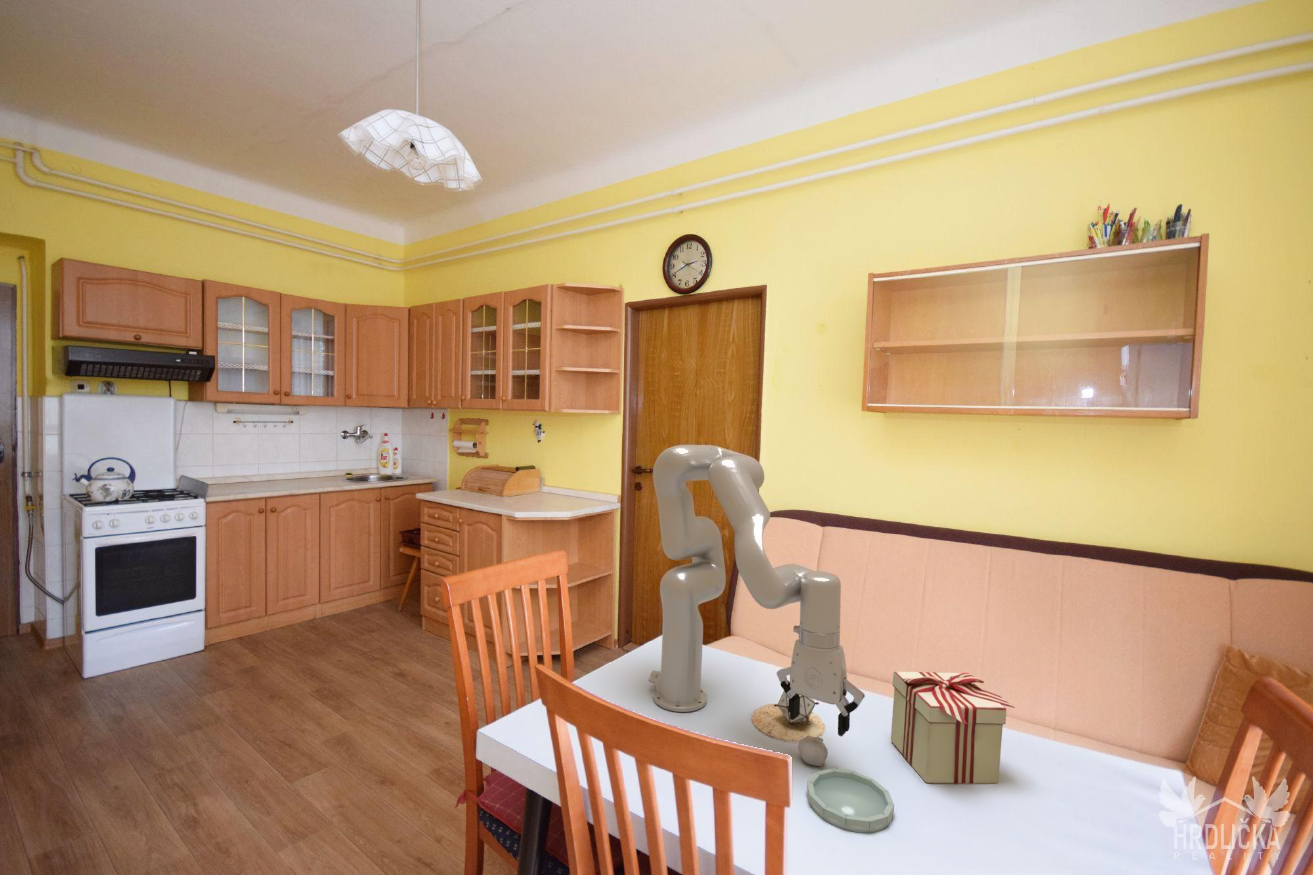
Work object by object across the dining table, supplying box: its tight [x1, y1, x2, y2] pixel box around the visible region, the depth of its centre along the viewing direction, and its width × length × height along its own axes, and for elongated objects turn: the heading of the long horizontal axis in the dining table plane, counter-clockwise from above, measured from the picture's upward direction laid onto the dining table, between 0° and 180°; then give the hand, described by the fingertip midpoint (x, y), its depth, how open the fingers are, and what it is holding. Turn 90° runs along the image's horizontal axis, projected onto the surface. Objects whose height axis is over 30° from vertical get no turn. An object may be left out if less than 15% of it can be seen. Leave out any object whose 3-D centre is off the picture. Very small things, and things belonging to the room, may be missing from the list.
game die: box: [773, 690, 820, 726], centre depth 128 cm, size 9×8×10 cm
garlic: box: [797, 736, 829, 767], centre depth 113 cm, size 6×5×5 cm
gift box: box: [890, 671, 1016, 785], centre depth 113 cm, size 17×18×17 cm
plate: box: [806, 767, 895, 834], centre depth 100 cm, size 14×14×2 cm
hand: (818, 724), depth 112 cm, fingers open, 9 cm apart
